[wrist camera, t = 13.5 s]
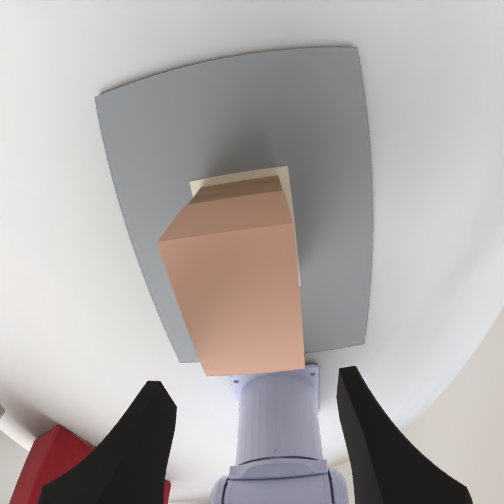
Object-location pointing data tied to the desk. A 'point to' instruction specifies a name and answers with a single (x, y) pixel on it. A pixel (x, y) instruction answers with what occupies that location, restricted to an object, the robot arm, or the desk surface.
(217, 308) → the terracotta block
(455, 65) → the desk surface
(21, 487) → the storage cube
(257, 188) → the walnut block
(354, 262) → the board
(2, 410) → the stone castle ruin
